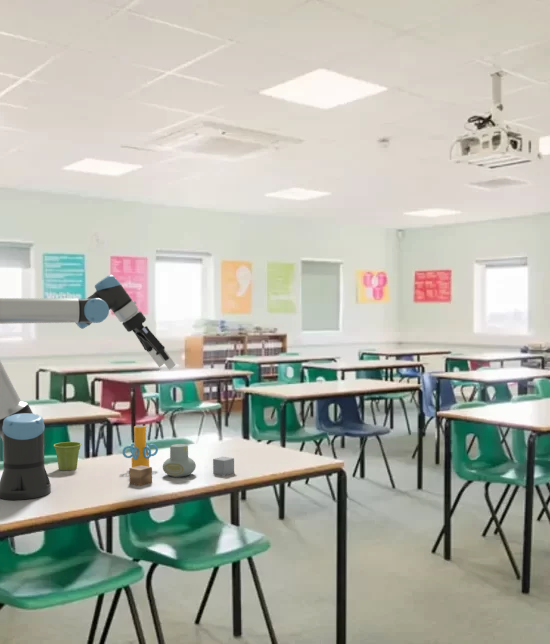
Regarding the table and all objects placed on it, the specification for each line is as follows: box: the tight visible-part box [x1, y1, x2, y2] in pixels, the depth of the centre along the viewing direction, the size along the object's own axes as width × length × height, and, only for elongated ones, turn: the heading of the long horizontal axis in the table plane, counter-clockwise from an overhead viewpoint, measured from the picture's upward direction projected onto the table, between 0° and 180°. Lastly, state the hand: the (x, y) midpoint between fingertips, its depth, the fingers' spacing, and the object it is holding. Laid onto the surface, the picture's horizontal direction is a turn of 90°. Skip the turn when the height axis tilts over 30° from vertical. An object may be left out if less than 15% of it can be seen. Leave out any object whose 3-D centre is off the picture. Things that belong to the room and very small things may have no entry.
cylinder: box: [122, 425, 159, 468], centre depth 244 cm, size 12×10×15 cm
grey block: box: [212, 456, 235, 476], centre depth 237 cm, size 5×5×5 cm
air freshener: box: [162, 443, 197, 478], centre depth 235 cm, size 11×8×10 cm
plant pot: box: [53, 441, 82, 471], centre depth 246 cm, size 9×9×9 cm
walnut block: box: [128, 465, 153, 487], centre depth 224 cm, size 5×5×5 cm
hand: (167, 366), depth 243 cm, fingers open, 13 cm apart
